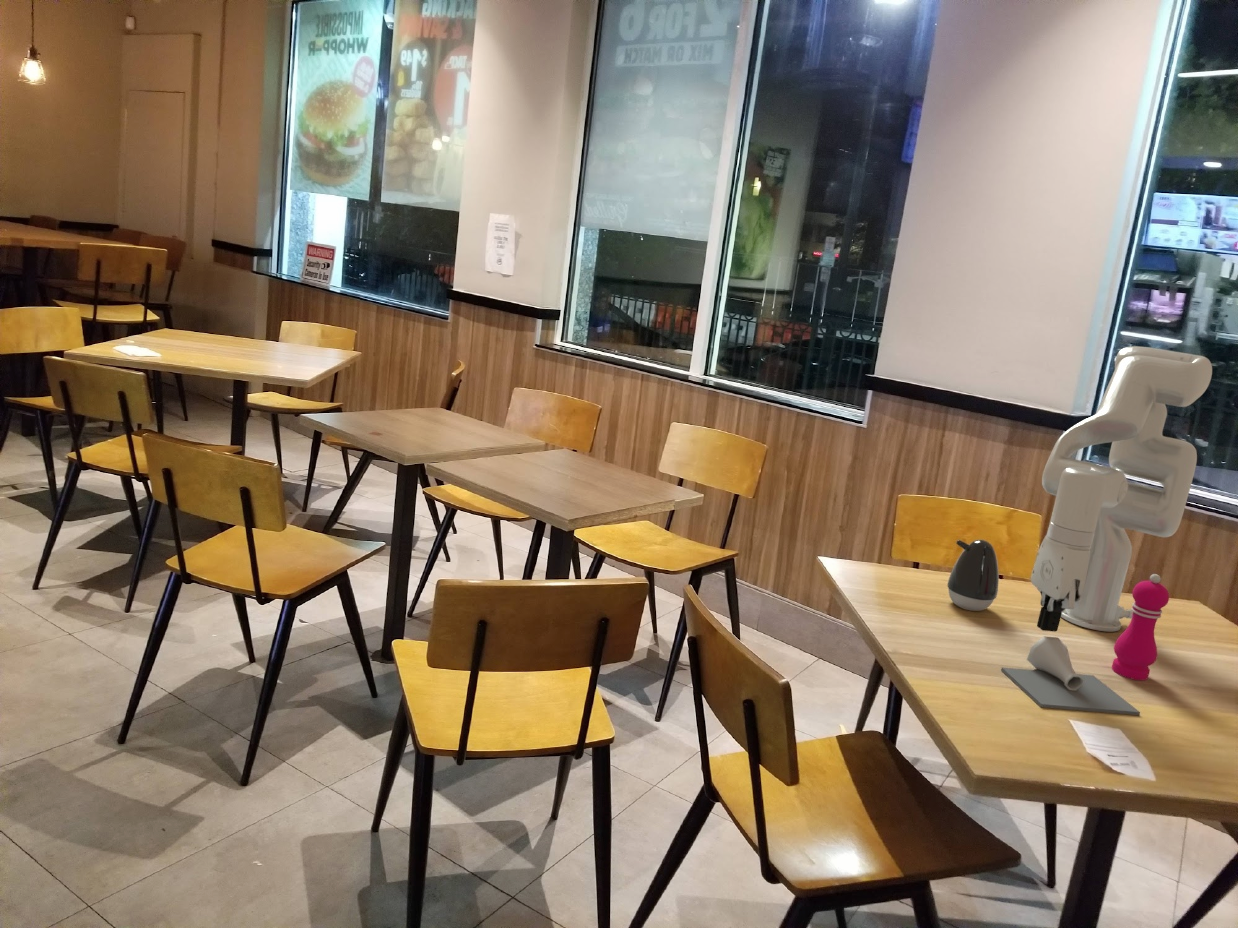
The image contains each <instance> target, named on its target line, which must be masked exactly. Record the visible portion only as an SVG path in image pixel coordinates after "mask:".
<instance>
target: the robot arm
mask: <svg viewBox="0 0 1238 928" xmlns="http://www.w3.org/2000/svg"><path fill="white" fill-rule="evenodd" d="M1114 361H1115V362H1114V371H1113V373H1112V376H1111V378H1110V380H1109V382H1108V385H1107V387H1106V389H1105V391H1104V394H1103V396H1102V398H1101V401H1100V403H1099V406H1098V408H1097V410H1096V413H1095V414H1094V415H1092V416H1090V417H1088V418H1085V419H1083V420H1081V421H1079V422H1078V423H1076V424H1074V425H1073V426H1071V427H1070V428H1068V429H1067V430H1066V431H1065V432H1063V434H1061V435H1060V437H1059V438H1057V441H1056V442H1055V444H1054V446H1053V448H1052V450H1051V453H1050V455H1049V456H1048V459H1047V461H1046V464H1045V466H1044V469H1043V471H1042V477H1041V485H1042V487H1043V490H1045V492H1046V493H1047V494H1050V495H1052V496H1055V500H1054V504H1053V509H1052V513H1051V517H1050V520H1049V525H1048V528H1047V532H1046V535H1045V536H1044V537H1043V540H1042V541H1041V544H1040V546H1039V549H1038V552H1037V554H1036V558H1035V560H1034V565H1033V568H1032V571H1031V576H1030V582H1031V584H1032V585H1033V586H1034V588H1036V589H1037V590H1038V592H1039V594H1040V595H1041V597H1040V606H1041V607H1040V611H1039V615H1038V620H1037V623H1036V627H1037V628H1039V629H1040V630H1041V631H1043V632H1044V631H1045V632H1054V633H1055V632H1057V631H1058V629H1059V625H1060V622H1061V618H1062V619H1064V620H1066V621H1067V622H1069V623H1072V624H1073V625H1076V626H1079V627H1083V628H1085V629H1090V630H1093V631H1099V632H1105V633H1106V632H1108V633H1109V632H1111V633H1112V632H1113V633H1114V632H1118V631H1120V630H1121V627H1122V622H1121V621H1120V620H1122V619H1123V618H1124V619H1125V618H1126V619H1130V620H1131V619H1132V615H1133V611H1132V610H1131V609H1125V608H1124V606H1121V605H1119V603H1120V599H1121V595H1122V592H1123V588H1124V584H1125V581H1126V577H1127V573H1128V570H1129V569H1128V568H1129V564H1130V561H1131V558H1132V553H1133V545H1132V542H1131V540H1130V538H1129V536H1128V533H1127V532H1126V530H1132V531H1137V532H1140V533H1142V534H1143V533H1144V534H1148V535H1150V536H1151V535H1152V536H1156V537H1160V538H1169V537H1172V536H1173V535H1174V534H1176V532H1177V531H1178V529H1179V527H1180V524H1181V522H1182V518H1183V515H1184V512H1185V508H1186V505H1187V500H1188V498H1189V494H1190V489H1191V486H1192V483H1193V479H1194V475H1195V471H1196V467H1197V463H1198V454H1197V449H1196V448H1195V446H1194V445H1193V444H1192V443H1191V442H1189V441H1186V440H1182V439H1179V438H1173V437H1170V436H1164V435H1163V431H1164V426H1165V423H1166V419H1167V416H1168V409H1167V406H1166V405H1168V406H1175V407H1180V408H1181V407H1182V408H1186V407H1188V406H1190V405H1192V404H1194V403H1195V402H1196V401H1197V400H1198V399H1199V398H1200V397H1201V396H1202V395H1203V394H1204V393H1205V392H1206V390H1207V389H1208V387H1209V385H1210V383H1211V379H1212V375H1213V366H1212V365H1213V364H1212V363H1211V361H1210V359H1209V358H1208V357H1206V356H1203V355H1198V354H1192V353H1186V352H1180V351H1173V350H1169V349H1161V348H1154V347H1148V346H1135V345H1134V346H1133V345H1132V346H1126V347H1122V348H1121V349H1120V350H1119V351H1118V353H1117V354H1116V356H1115V360H1114ZM1107 443H1111V446H1110V450H1109V454H1108V455H1109V456H1108V465H1109V466H1105V465H1100V464H1096V463H1094V462H1093V463H1092V462H1089V461H1084V460H1080V459H1075V458H1070V457H1072V455H1073V454H1075V453H1077V452H1078V451H1080V450H1081V449H1084V448H1086V447H1087V448H1088V447H1090V446H1095V445H1101V444H1107ZM1126 476H1129V477H1133V478H1139V479H1142V480H1146V481H1149V482H1150V481H1151V482H1156V483H1159V484H1161V486H1163V490H1162V489H1158V488H1154V487H1150V486H1146V485H1143V484H1142V485H1141V484H1140V483H1139V484H1138V483H1133V482H1130V481H1128V479H1127V477H1126Z"/></svg>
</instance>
